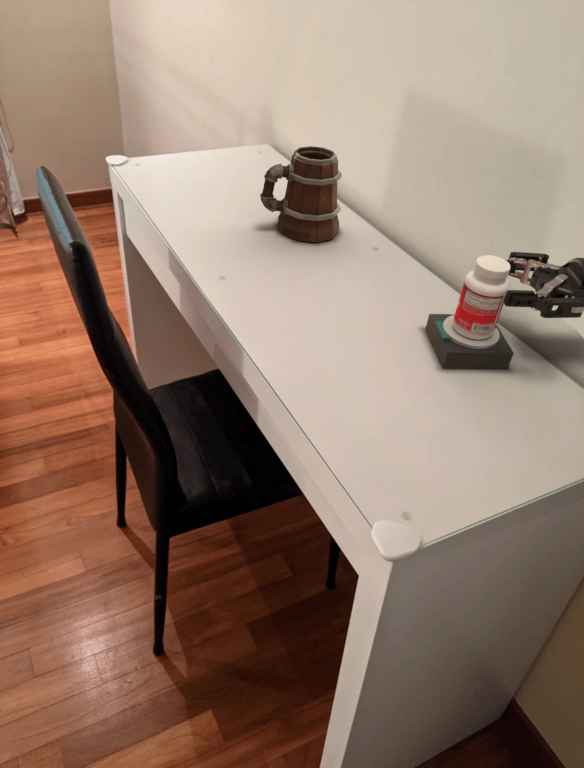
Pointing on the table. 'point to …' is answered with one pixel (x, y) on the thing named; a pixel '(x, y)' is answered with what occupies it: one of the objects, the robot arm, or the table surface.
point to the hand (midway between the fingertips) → (494, 282)
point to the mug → (306, 195)
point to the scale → (466, 346)
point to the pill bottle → (482, 298)
